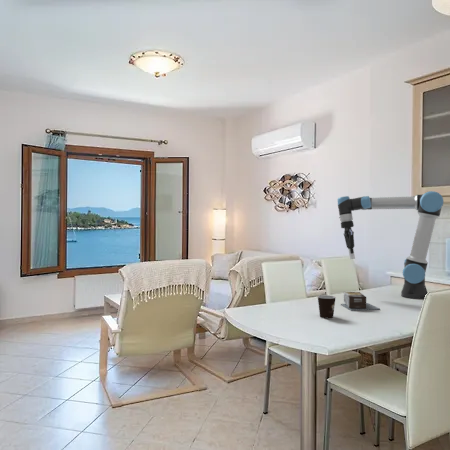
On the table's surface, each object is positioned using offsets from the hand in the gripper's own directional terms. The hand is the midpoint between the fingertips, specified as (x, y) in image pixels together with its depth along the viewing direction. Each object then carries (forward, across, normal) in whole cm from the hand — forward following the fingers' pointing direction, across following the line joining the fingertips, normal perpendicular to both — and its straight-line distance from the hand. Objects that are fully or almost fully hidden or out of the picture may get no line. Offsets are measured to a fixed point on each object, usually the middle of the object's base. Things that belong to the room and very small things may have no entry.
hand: (352, 258), depth 260 cm
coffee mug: (+26, +48, -31) cm, 63 cm away
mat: (+26, +27, -9) cm, 39 cm away
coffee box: (+21, +18, -10) cm, 29 cm away
